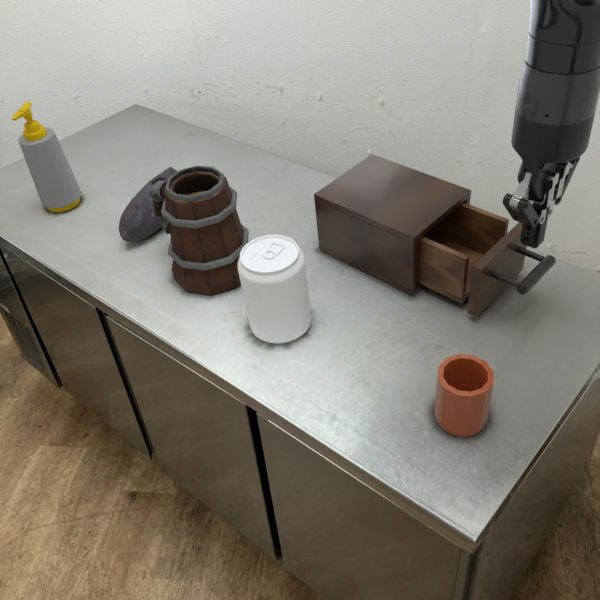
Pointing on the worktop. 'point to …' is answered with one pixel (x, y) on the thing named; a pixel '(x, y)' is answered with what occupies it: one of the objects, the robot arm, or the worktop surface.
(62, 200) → the soap bottle
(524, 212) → the robot arm
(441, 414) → the cup
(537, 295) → the worktop surface
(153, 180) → the perforated stone tool
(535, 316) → the worktop surface
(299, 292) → the beverage can
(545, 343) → the worktop surface
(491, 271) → the drawer
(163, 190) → the mug
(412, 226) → the cabinet
